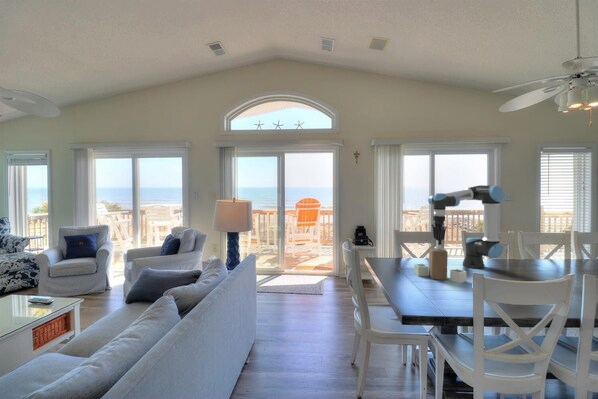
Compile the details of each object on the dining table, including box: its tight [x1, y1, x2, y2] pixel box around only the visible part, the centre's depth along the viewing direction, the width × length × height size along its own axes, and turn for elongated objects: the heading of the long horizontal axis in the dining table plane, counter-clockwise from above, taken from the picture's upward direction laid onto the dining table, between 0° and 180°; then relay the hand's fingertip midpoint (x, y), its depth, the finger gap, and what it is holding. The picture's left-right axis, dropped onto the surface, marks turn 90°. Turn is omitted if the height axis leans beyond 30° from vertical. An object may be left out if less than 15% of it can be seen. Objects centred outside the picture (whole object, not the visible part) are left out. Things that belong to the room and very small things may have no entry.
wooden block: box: [428, 247, 449, 281], centre depth 215 cm, size 10×10×20 cm
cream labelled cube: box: [449, 268, 467, 284], centre depth 209 cm, size 7×7×7 cm
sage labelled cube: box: [413, 263, 429, 277], centre depth 223 cm, size 7×7×7 cm
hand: (438, 249), depth 215 cm, fingers closed
